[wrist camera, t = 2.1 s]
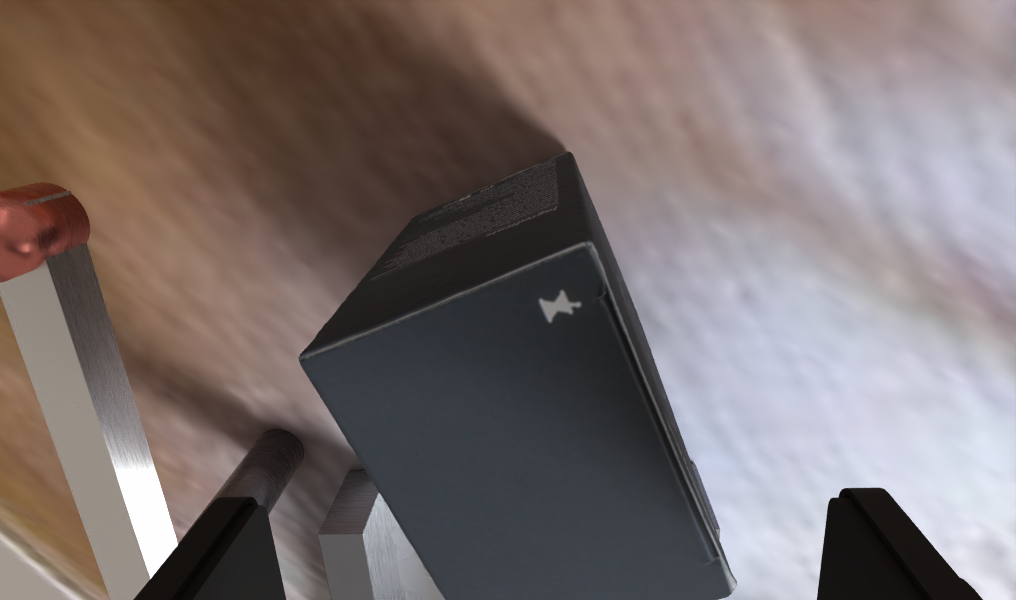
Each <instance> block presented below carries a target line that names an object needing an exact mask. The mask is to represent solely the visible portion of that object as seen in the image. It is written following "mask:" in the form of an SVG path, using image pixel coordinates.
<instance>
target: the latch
mask: <svg viewBox="0 0 1016 600" xmlns="http://www.w3.org/2000/svg"><path fill="white" fill-rule="evenodd" d="M89 234H90V224H89V219H88V216H87V213H86V211H85V209H84V208H83V206H82V204H81V203H80V202H79V201H78V199H77V198H76V197H75V196H74V195H72V193H71V191H67V190H66V189H64V188H62V187H60V186H57V185H55V184H51V183H35V184H30V185H26V186H21V187H17V188H13V189H8V190H4V191H0V296H1V298H2V301H3V304H4V307H5V309H6V312H7V315H8V318H9V320H10V323H11V326H12V329H13V332H14V334H15V337H16V340H17V343H18V345H19V348H20V351H21V354H22V356H23V359H24V362H25V365H26V367H27V370H28V373H29V376H30V378H31V381H32V384H33V387H34V389H35V392H36V395H37V398H38V400H39V403H40V406H41V409H42V412H43V414H44V417H45V420H46V423H47V425H48V428H49V431H50V434H51V436H52V439H53V442H54V445H55V447H56V450H57V453H58V456H59V458H60V461H61V464H62V467H63V469H64V472H65V475H66V478H67V481H68V483H69V486H70V489H71V492H72V494H73V497H74V500H75V503H76V505H77V508H78V511H79V514H80V516H81V519H82V522H83V525H84V527H85V530H86V533H87V536H88V538H89V541H90V544H91V547H92V550H93V552H94V555H95V558H96V561H97V563H98V566H99V569H100V572H101V574H102V577H103V580H104V583H105V585H106V588H107V591H108V594H109V596H110V599H111V600H133V599H134V598H135V597H136V596H137V595H138V593H139V592H140V591H141V590H142V588H143V587H144V586H145V585H146V584H147V582H148V581H149V580H150V579H151V577H152V576H153V575H154V574H155V572H156V571H157V570H158V569H159V568H160V566H161V565H162V564H163V563H164V561H165V560H166V559H167V558H168V556H169V555H170V554H171V553H172V552H173V550H174V549H175V548H176V547H177V545H178V543H177V539H176V536H175V533H174V530H173V526H172V523H171V520H170V516H169V513H168V510H167V506H166V503H165V500H164V497H163V493H162V490H161V487H160V483H159V480H158V477H157V473H156V470H155V467H154V464H153V460H152V457H151V454H150V450H149V447H148V444H147V440H146V437H145V434H144V431H143V427H142V424H141V421H140V417H139V414H138V411H137V407H136V404H135V401H134V397H133V394H132V391H131V388H130V384H129V381H128V378H127V374H126V371H125V368H124V364H123V361H122V358H121V355H120V351H119V348H118V345H117V341H116V338H115V335H114V331H113V328H112V325H111V322H110V318H109V315H108V312H107V308H106V305H105V302H104V298H103V295H102V292H101V289H100V285H99V282H98V279H97V275H96V272H95V269H94V265H93V262H92V259H91V255H90V252H89V249H88V246H87V241H88V239H89Z"/></svg>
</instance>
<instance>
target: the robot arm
mask: <svg viewBox="0 0 1016 600" xmlns="http://www.w3.org/2000/svg"><path fill="white" fill-rule="evenodd" d="M133 600H286V596H285V592H284V587H283V582H282V578H281V573H280V568H279V564H278V559H277V554H276V550H275V545H274V540H273V536H272V531H271V527H270V522H269V517H268V513H267V510H266V508H265V507H264V506H263V505H258V503H257V501H256V500H255V498H253V497H219V498H217V499H216V500H214V501H213V502H212V504H211V505H210V506H209V507H208V509H207V510H206V511H205V512H204V513H203V515H202V516H201V517H200V518H199V520H198V521H197V522H196V523H195V525H194V526H193V527H192V528H191V529H190V531H189V532H188V533H187V534H186V536H185V537H184V538H183V539H182V540H181V542H180V543H179V544H178V545H177V547H176V548H175V549H174V550H173V552H172V553H171V554H170V555H169V556H168V558H167V559H166V560H165V561H164V563H163V564H162V565H161V566H160V568H159V569H158V570H157V571H156V572H155V574H154V575H153V576H152V577H151V579H150V580H149V581H148V582H147V584H146V585H145V586H144V587H143V588H142V590H141V591H140V592H139V593H138V595H137V596H136V597H135V598H134V599H133ZM817 600H983V599H982V598H981V597H980V596H979V595H978V593H977V592H976V591H975V590H974V589H973V588H972V587H971V586H970V585H969V584H968V583H967V582H966V581H965V580H964V579H961V578H959V576H958V575H957V574H956V573H955V572H954V570H953V569H952V568H951V567H950V566H949V565H948V563H947V562H946V561H945V560H944V559H943V557H942V556H941V555H940V554H939V553H938V551H937V550H936V549H935V548H934V547H933V545H932V544H931V543H930V542H929V541H928V540H927V538H926V537H925V536H924V535H923V534H922V532H921V531H920V530H919V529H918V528H917V526H916V525H915V524H914V523H913V522H912V520H911V519H910V518H909V517H908V516H907V514H906V513H905V512H904V511H903V510H902V509H901V507H900V506H899V505H898V504H897V503H896V501H895V500H894V499H893V498H892V497H891V495H890V494H889V493H888V492H887V491H886V490H885V489H882V488H845V489H842V490H841V492H840V494H839V498H831V499H830V501H829V504H828V511H827V519H826V528H825V536H824V545H823V553H822V562H821V570H820V578H819V587H818V595H817Z"/></svg>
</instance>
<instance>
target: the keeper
mask: <svg viewBox="0 0 1016 600" xmlns="http://www.w3.org/2000/svg"><path fill="white" fill-rule="evenodd" d="M303 456H304V450H303V446H302V444H301V442H300V441H299V440H298V439H297V438H296V437H295V436H294V435H293V434H291V433H289V432H287V431H284V430H270V431H267V432H265V433H264V434H262V435H261V437H260V438H259V439H258V440H257V442H256V443H255V444H254V446H253V447H252V448H251V450H250V451H249V452H248V454H247V455H246V456H245V457H244V459H243V460H242V461H241V463H240V464H239V465H238V467H237V468H236V469H235V470H234V472H233V473H232V474H231V476H230V477H229V478H228V480H227V481H226V482H225V484H224V485H223V486H222V487H221V489H220V490H219V491H218V493H217V494H216V495H215V497H214V498H213V499H212V500H211V502H210V503H209V504H208V506H207V507H206V508H205V510H204V511H203V512H202V514H201V515H200V516H199V517H198V519H197V520H196V521H195V523H196V522H197V521H198V520H199V518H200V517H201V516H202V515H203V513H204V512H205V511H206V510H207V509H208V507H209V506H210V505H211V504H212V502H213V501H214V500H216V499H217V498H219V497H253V498H255V500H256V501H257V503H258V505H263V506H264V507H265V508H266V510H267V513H268V515H269V514H270V512H271V510H272V509H273V507H274V506H275V504H276V502H277V501H278V499H279V497H280V496H281V494H282V492H283V491H284V489H285V488H286V486H287V484H288V483H289V481H290V479H291V478H292V476H293V475H294V473H295V471H296V470H297V468H298V466H299V465H300V463H301V461H302V460H303ZM691 465H692V467H693V470H694V472H695V475H696V478H697V481H698V483H699V486H700V490H701V492H702V494H703V497H704V500H705V503H706V505H707V508H708V511H709V513H710V516H711V519H712V522H713V524H714V527H715V530H716V532H717V535H718V538H719V537H720V528H719V525H718V523H717V520H716V517H715V515H714V512H713V509H712V507H711V504H710V502H709V499H708V496H707V494H706V491H705V489H704V486H703V483H702V481H701V478H700V475H699V473H698V470H697V468H696V465H695V464H691ZM195 523H194V524H193V525H192V527H193V526H194V525H195ZM192 527H191V528H192ZM191 528H190V529H191ZM190 529H189V531H190ZM189 531H188V532H189ZM188 532H187V533H188ZM187 533H186V534H187ZM186 534H185V536H186ZM185 536H184V537H185ZM184 537H183V538H184ZM318 537H319V542H320V547H321V552H322V556H323V561H324V566H325V571H326V576H327V581H328V586H329V590H330V595H331V600H444V598H443V596H442V595H441V593H440V592H439V590H438V589H437V587H436V585H435V583H434V581H433V580H432V578H431V576H430V575H429V573H428V572H427V570H426V569H425V567H424V565H423V564H422V562H421V560H420V559H419V557H418V555H417V554H416V552H415V550H414V549H413V547H412V546H411V544H410V543H409V541H408V539H407V538H406V536H405V534H404V533H403V531H402V529H401V528H400V526H399V524H398V523H397V521H396V519H395V518H394V516H393V514H392V513H391V511H390V509H389V507H388V506H387V504H386V502H385V501H384V499H383V498H382V496H381V495H380V493H379V492H378V490H377V488H376V487H375V485H374V483H373V482H372V480H371V479H370V477H369V475H368V474H367V472H366V471H349V472H348V474H347V476H346V478H345V480H344V482H343V484H342V486H341V488H340V490H339V492H338V494H337V496H336V499H335V501H334V503H333V505H332V507H331V509H330V511H329V513H328V515H327V517H326V519H325V521H324V523H323V525H322V528H321V530H320V532H319V534H318ZM183 538H182V539H183ZM180 542H181V541H180ZM180 542H179V543H180Z"/></svg>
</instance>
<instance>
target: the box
mask: <svg viewBox="0 0 1016 600" xmlns="http://www.w3.org/2000/svg"><path fill="white" fill-rule="evenodd" d="M299 362H300V364H301V366H302V368H303V370H304V371H305V373H306V374H307V376H308V378H309V379H310V381H311V382H312V384H313V386H314V387H315V389H316V390H317V392H318V394H319V395H320V397H321V398H322V400H323V402H324V403H325V405H326V406H327V408H328V410H329V411H330V413H331V414H332V416H333V418H334V419H335V421H336V423H337V424H338V426H339V428H340V429H341V431H342V433H343V434H344V436H345V438H346V439H347V441H348V443H349V444H350V446H351V447H352V449H353V450H354V452H355V454H356V456H357V457H358V459H359V461H360V462H361V464H362V465H363V467H364V469H365V470H366V472H367V474H368V475H369V477H370V479H371V480H372V482H373V483H374V485H375V487H376V488H377V490H378V492H379V493H380V495H381V496H382V498H383V499H384V501H385V502H386V504H387V506H388V507H389V509H390V511H391V513H392V514H393V516H394V518H395V519H396V521H397V523H398V524H399V526H400V528H401V529H402V531H403V533H404V534H405V536H406V538H407V539H408V541H409V543H410V544H411V546H412V547H413V549H414V550H415V552H416V554H417V555H418V557H419V559H420V560H421V562H422V564H423V565H424V567H425V569H426V570H427V572H428V573H429V575H430V576H431V578H432V580H433V581H434V583H435V585H436V587H437V589H438V590H439V592H440V593H441V595H442V596H443V598H444V600H718V599H722V598H726V597H728V596H729V595H730V594H732V591H733V590H734V589H735V588H736V586H737V581H736V580H735V578H734V576H733V574H732V573H731V571H730V568H729V565H728V562H727V560H726V557H725V554H724V551H723V549H722V546H721V544H720V541H719V538H718V535H717V532H716V530H715V527H714V524H713V522H712V519H711V516H710V513H709V511H708V508H707V505H706V503H705V500H704V497H703V494H702V492H701V490H700V486H699V483H698V481H697V478H696V475H695V472H694V470H693V467H692V465H691V461H690V458H689V456H688V453H687V451H686V448H685V445H684V442H683V439H682V437H681V434H680V431H679V428H678V426H677V423H676V420H675V417H674V414H673V411H672V408H671V406H670V403H669V400H668V398H667V395H666V392H665V389H664V387H663V384H662V381H661V378H660V376H659V373H658V370H657V367H656V364H655V362H654V359H653V356H652V353H651V349H650V347H649V345H648V342H647V339H646V336H645V333H644V330H643V328H642V325H641V323H640V320H639V317H638V314H637V311H636V309H635V307H634V304H633V302H632V299H631V297H630V294H629V291H628V289H627V286H626V284H625V281H624V279H623V277H622V274H621V271H620V269H619V266H618V264H617V261H616V259H615V256H614V254H613V252H612V249H611V246H610V244H609V241H608V239H607V237H606V234H605V232H604V229H603V227H602V224H601V222H600V220H599V217H598V215H597V212H596V210H595V207H594V205H593V203H592V200H591V198H590V195H589V193H588V191H587V188H586V186H585V183H584V181H583V178H582V176H581V173H580V171H579V169H578V166H577V163H576V161H575V158H574V156H573V154H572V153H571V152H565V153H563V154H560V155H558V156H555V157H553V158H551V159H549V160H546V161H544V162H542V163H539V164H537V165H534V166H532V167H530V168H527V169H525V170H523V171H520V172H518V173H516V174H513V175H510V176H508V177H506V178H504V179H502V180H500V181H498V182H496V183H493V184H491V185H488V186H486V187H483V188H481V189H479V190H476V191H474V192H472V193H469V194H467V195H465V196H462V197H460V198H458V199H456V200H453V201H451V202H448V203H446V204H444V205H442V206H439V207H437V208H434V209H432V210H430V211H427V212H424V213H421V214H420V215H418V216H416V217H414V218H413V219H412V220H411V221H410V222H409V224H408V225H407V226H406V227H405V229H404V230H403V231H402V232H401V233H400V234H399V236H398V237H397V238H396V239H395V241H393V242H392V244H391V245H390V246H389V248H388V249H387V250H386V251H385V253H384V254H383V255H382V256H381V257H380V259H379V260H378V261H377V263H376V264H375V265H374V267H373V268H372V269H371V270H370V271H369V272H368V273H367V275H366V276H365V277H364V278H363V279H362V280H361V282H360V283H359V284H358V286H357V287H356V288H355V289H354V291H352V292H351V293H350V295H349V296H348V297H347V299H346V300H345V301H344V302H343V303H342V304H341V305H340V307H339V308H338V310H337V311H336V312H335V314H334V315H333V316H332V317H331V319H330V320H329V321H328V322H327V323H326V324H325V325H324V326H323V328H322V329H321V330H320V331H319V332H318V334H317V336H316V337H315V339H314V340H313V341H312V342H311V343H310V345H309V346H308V347H307V348H306V349H305V350H304V351H303V352H302V353H301V354H300V357H299Z"/></svg>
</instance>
